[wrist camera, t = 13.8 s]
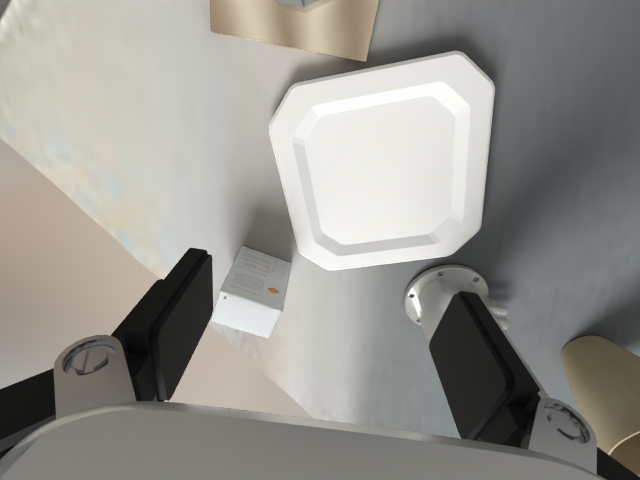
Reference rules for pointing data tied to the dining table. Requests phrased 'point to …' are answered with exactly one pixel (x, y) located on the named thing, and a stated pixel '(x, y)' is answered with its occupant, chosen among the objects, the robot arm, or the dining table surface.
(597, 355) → the plant pot
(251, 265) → the small box
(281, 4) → the steel ring collar
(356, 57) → the fitting board
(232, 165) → the dining table surface
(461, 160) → the plate
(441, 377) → the robot arm
